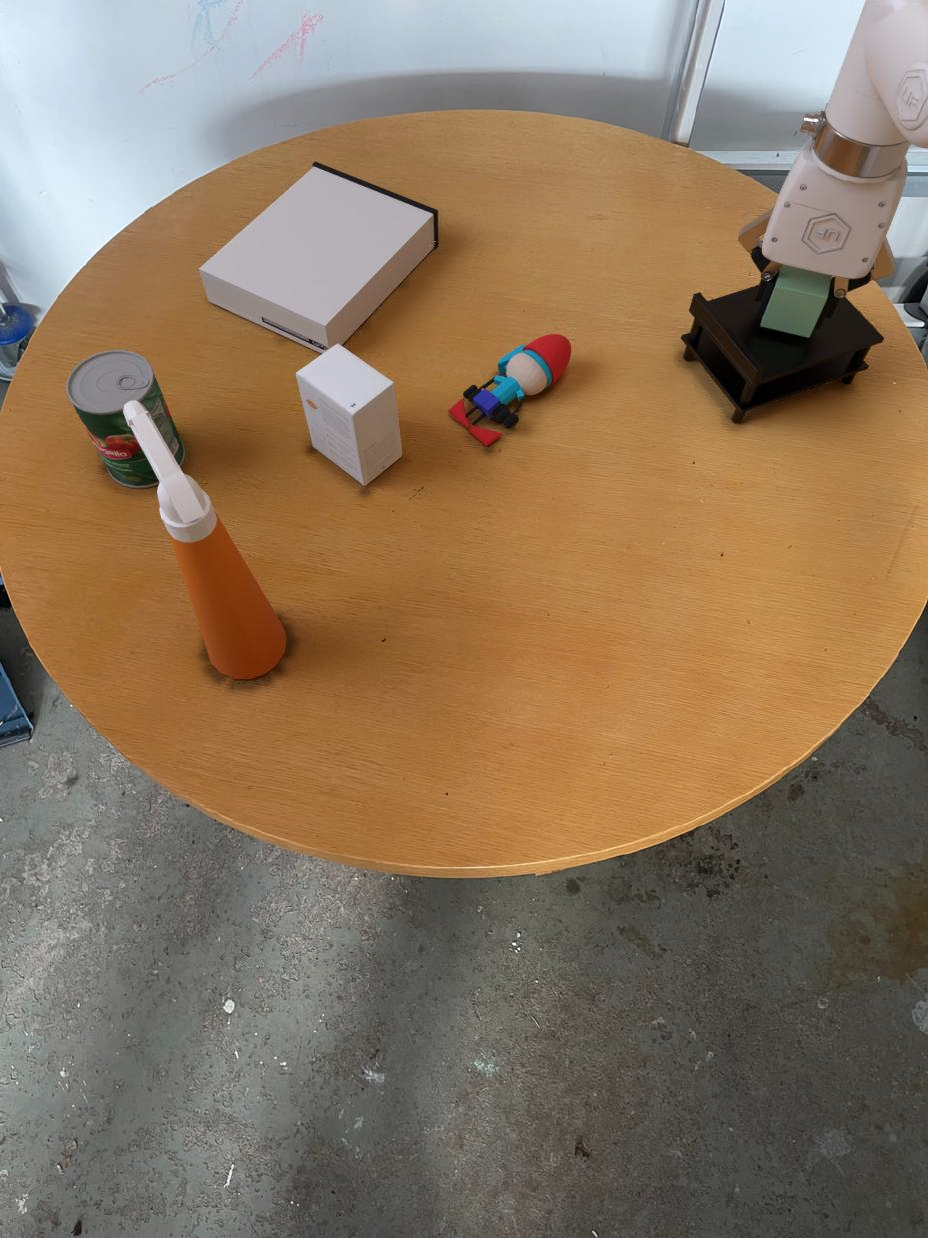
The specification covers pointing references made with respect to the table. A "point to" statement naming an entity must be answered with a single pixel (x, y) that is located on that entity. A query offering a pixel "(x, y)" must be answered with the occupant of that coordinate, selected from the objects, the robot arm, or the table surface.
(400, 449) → the small box
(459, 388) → the table surface
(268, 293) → the disc drive
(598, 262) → the table surface
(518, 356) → the toy figure
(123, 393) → the canned tomato
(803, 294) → the cube
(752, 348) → the plate
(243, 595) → the spray bottle
